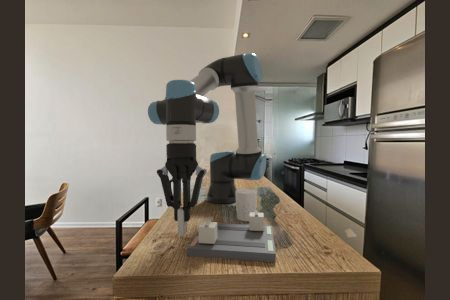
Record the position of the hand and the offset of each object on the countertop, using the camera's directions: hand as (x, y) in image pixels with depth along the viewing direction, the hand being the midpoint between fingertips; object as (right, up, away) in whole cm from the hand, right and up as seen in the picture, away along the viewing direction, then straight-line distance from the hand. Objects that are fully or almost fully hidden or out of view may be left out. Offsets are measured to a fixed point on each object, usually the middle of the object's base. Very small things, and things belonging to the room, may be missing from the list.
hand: (182, 233), depth 60 cm
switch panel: (+14, -4, +3) cm, 14 cm away
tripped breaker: (+7, -1, -1) cm, 7 cm away
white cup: (+19, -3, +24) cm, 30 cm away
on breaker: (+20, -1, +7) cm, 22 cm away
